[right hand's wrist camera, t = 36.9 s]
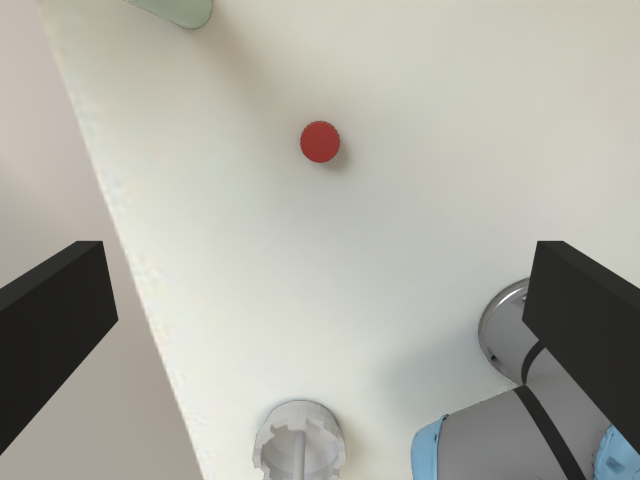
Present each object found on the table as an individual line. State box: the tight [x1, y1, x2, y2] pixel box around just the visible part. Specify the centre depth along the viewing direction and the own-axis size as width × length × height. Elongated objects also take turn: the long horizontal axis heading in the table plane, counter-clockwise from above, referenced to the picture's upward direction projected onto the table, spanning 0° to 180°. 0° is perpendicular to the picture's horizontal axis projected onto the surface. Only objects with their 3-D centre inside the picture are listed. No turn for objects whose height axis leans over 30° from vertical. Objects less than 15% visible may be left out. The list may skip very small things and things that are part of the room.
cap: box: [300, 121, 340, 163], centre depth 45 cm, size 4×4×2 cm
